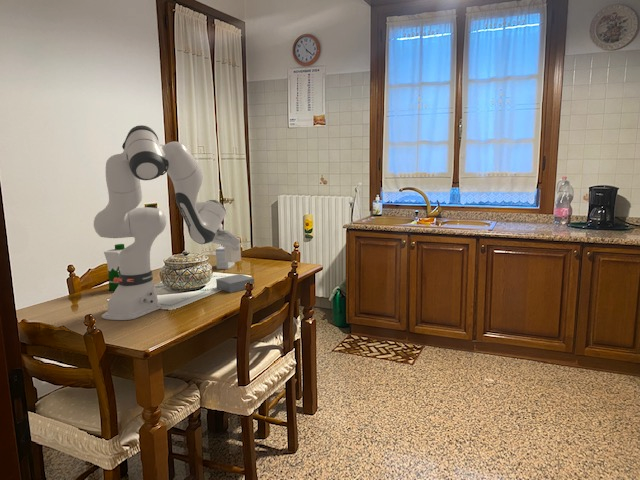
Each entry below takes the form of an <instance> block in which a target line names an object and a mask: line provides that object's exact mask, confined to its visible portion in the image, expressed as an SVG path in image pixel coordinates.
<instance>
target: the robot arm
mask: <svg viewBox="0 0 640 480" xmlns="http://www.w3.org/2000/svg"><path fill="white" fill-rule="evenodd" d="M125 137H126V138H125V139H124V141H123V143H122V146H121V147H122V150H123V151H122V152H121V153H117V154H113V155H111V156H110V157H109V158H107V160H106V162H105V181H106V188H107V194H108V203H107V205H106V206H105V207H104V208H103V209H102V210H101V211H99V212H97V214H96V215H95V216H94V218H93V219H94V220H93V228H94V231H95V232H96V234H97V235H98V236H99V237H101V238H104V239H105V238H106V239H124V238H134V241H133V243H131V244H130V245H128V246H125V248H124V249H123V250H122V251H121V252H120V254H119V264H120V275H119V278H116V277H115V278H114V279H113V281H114V283H118V284H119V285H118V287H117V289H116V290H115V291H113V293H112V295H111V296H110V298H109V299H108V301H107V311H105V312H104V313H103V314H101V318H102V319H104V320H109V321H127V320H135V319H137V318H140V317H142V316H145V315H147V314H150V313H152V312H155V311H157V310H160V309H161V308H162V305H161V304H160V303H159V298H158V293H157V289H156V286H155V284H154V283H153V279H154V276H153V275H154V274H153V270H152V269H151V250H152V246H153V243H154V241H155V240H156V239H157V237H159V235H160V234H161V233H163V232H164V230H165V229H166V227H167V218H166V215H165V213H164V212H163V210H161V209H160V208H157V207H150V206H149V207H147V206H145V207H144V206H143V207H138V206H139V205H140V203H141V202H142V199H143V193H142V186H141V181H151V180H152V181H153V180H154V179H157V178H159V177H160V176H163V175H165V174H167V175H168V177H169V178H170V180H171V182H172V184H173V190H174V198H175V202H176V204H177V205H176V206H177V207H178V210H179V212H180V214H181V216H182V219H183V220H184V222H185V224H186V227H187V231H188V234H189V237H190V238H191V240H193V242H195V243H197V244H199V245H205V244H206V245H207V244H209V243H213V244H217V245H220V246H222V245H223V246H224V245H226V246H230V247H233V249H234V250H235V251H238V250H239V247H238V244H239V243H240V244H241V239H240V240H239V239H238V238H239V237H237V236H235V235H234V234H233V233H232V232H231V231H229V230H224V228H223V227H224V226H223V224H222V222H223V220H224V218H225V217H226V214H227V209H226V207H225V206H224V205H223V204H222V203H221V202H220V201H218V200H217V199H209V200H206V201H198V200H197V197H198V194H199V192H200V189H201V186H202V183H203V178H204V177H203V172H202V169H201V166H200V165H199V163H198V162H197V160H196V158H195V157H194V156H193V154H192V153H191V151H190V150H189V149H188V148H187V147H186V146H185V145H184V144H183V143H181V142H179V141H170V142H167V143H166V144H160V142H159V138H158V135H157V133H156V132H155V130H153V128H151V127H149V126H147V125H144V124H143V125H141V124H140V125H136V126H133V127H132V128H131V129H130V130H129V132H128V133H127V135H126V136H125Z"/></svg>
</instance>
